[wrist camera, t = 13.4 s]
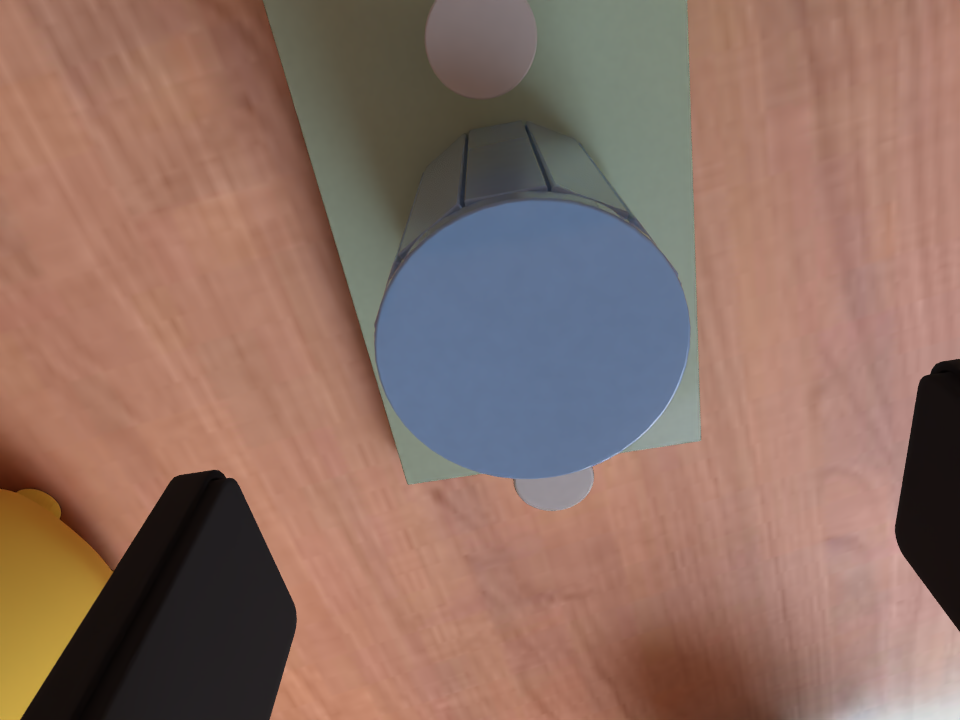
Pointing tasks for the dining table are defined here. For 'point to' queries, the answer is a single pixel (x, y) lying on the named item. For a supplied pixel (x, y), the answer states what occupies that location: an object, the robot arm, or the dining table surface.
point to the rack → (481, 103)
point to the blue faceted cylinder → (527, 310)
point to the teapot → (39, 593)
